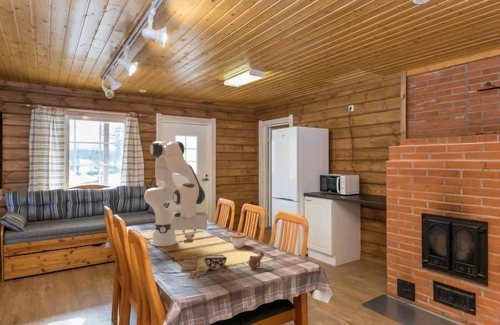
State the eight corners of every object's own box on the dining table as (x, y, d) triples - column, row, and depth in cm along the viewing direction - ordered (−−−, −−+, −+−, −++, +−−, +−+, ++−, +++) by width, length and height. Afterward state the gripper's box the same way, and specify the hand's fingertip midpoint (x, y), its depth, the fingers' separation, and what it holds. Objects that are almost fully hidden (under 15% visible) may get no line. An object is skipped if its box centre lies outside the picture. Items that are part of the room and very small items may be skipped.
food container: (202, 266, 170) (203, 270, 160) (202, 255, 171) (203, 258, 161) (225, 266, 172) (227, 269, 162) (225, 254, 173) (227, 257, 163)
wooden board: (184, 258, 181) (184, 257, 181) (196, 258, 182) (196, 256, 182) (181, 271, 161) (181, 269, 161) (195, 270, 162) (195, 268, 162)
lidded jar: (227, 247, 203) (227, 233, 202) (235, 243, 212) (235, 229, 212) (241, 249, 198) (241, 234, 197) (249, 245, 207) (249, 231, 207)
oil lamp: (262, 265, 168) (262, 250, 168) (265, 267, 165) (265, 252, 165) (247, 267, 165) (247, 252, 165) (250, 270, 161) (250, 255, 161)
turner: (186, 239, 178) (186, 234, 179) (194, 238, 179) (194, 233, 179) (184, 243, 163) (183, 237, 163) (192, 242, 163) (192, 236, 163)
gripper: (207, 211, 177) (208, 235, 177) (171, 212, 175) (171, 236, 175) (207, 213, 171) (208, 237, 171) (169, 214, 168) (170, 239, 169)
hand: (189, 237), depth 173 cm, fingers closed on turner, 2 cm apart
